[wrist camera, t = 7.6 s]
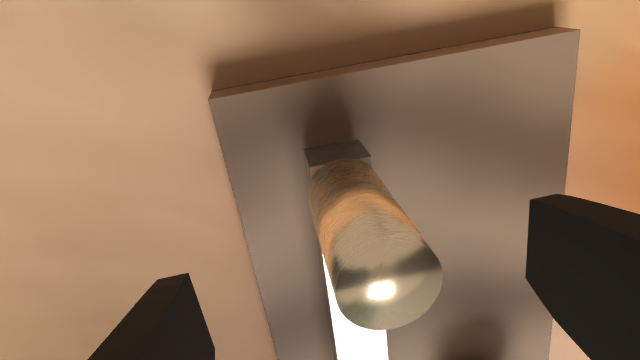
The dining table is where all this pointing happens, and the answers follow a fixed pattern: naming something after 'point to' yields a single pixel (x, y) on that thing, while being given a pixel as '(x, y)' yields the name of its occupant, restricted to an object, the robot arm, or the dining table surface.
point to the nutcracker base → (412, 184)
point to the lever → (366, 252)
